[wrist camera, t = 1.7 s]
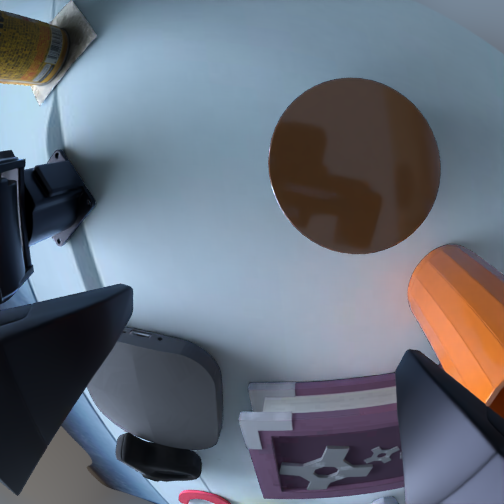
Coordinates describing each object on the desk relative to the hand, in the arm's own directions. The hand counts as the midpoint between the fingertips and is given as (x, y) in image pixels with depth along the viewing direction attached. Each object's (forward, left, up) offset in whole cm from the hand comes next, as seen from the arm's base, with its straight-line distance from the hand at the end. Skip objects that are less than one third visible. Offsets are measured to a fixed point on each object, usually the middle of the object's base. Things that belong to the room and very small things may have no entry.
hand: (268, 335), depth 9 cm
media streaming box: (-20, -6, -13) cm, 25 cm away
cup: (+8, -11, -13) cm, 19 cm away
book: (-4, -23, -13) cm, 27 cm away
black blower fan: (-23, -16, -10) cm, 30 cm away
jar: (+6, +1, -13) cm, 14 cm away
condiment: (-6, +26, -13) cm, 30 cm away
